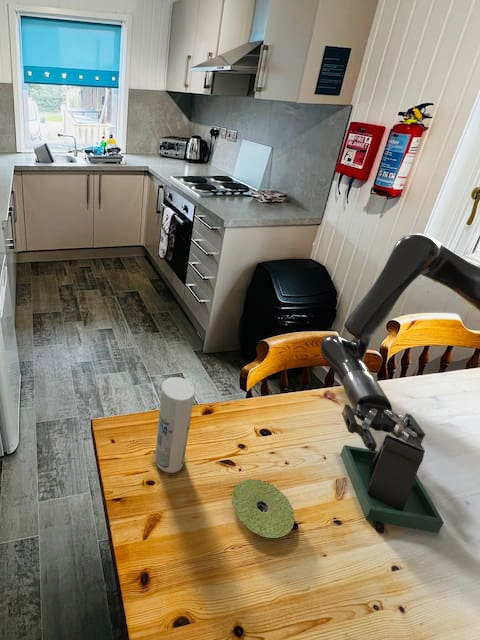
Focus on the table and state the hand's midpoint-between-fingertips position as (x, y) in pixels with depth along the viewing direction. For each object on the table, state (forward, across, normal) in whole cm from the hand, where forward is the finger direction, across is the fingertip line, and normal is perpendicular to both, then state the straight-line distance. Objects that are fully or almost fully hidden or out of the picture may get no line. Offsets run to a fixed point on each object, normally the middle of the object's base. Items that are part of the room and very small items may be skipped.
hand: (397, 452), depth 78 cm
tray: (+1, 0, +10) cm, 10 cm away
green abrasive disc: (+11, -26, +10) cm, 30 cm away
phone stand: (+1, 0, +9) cm, 9 cm away
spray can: (+3, -44, +10) cm, 45 cm away
